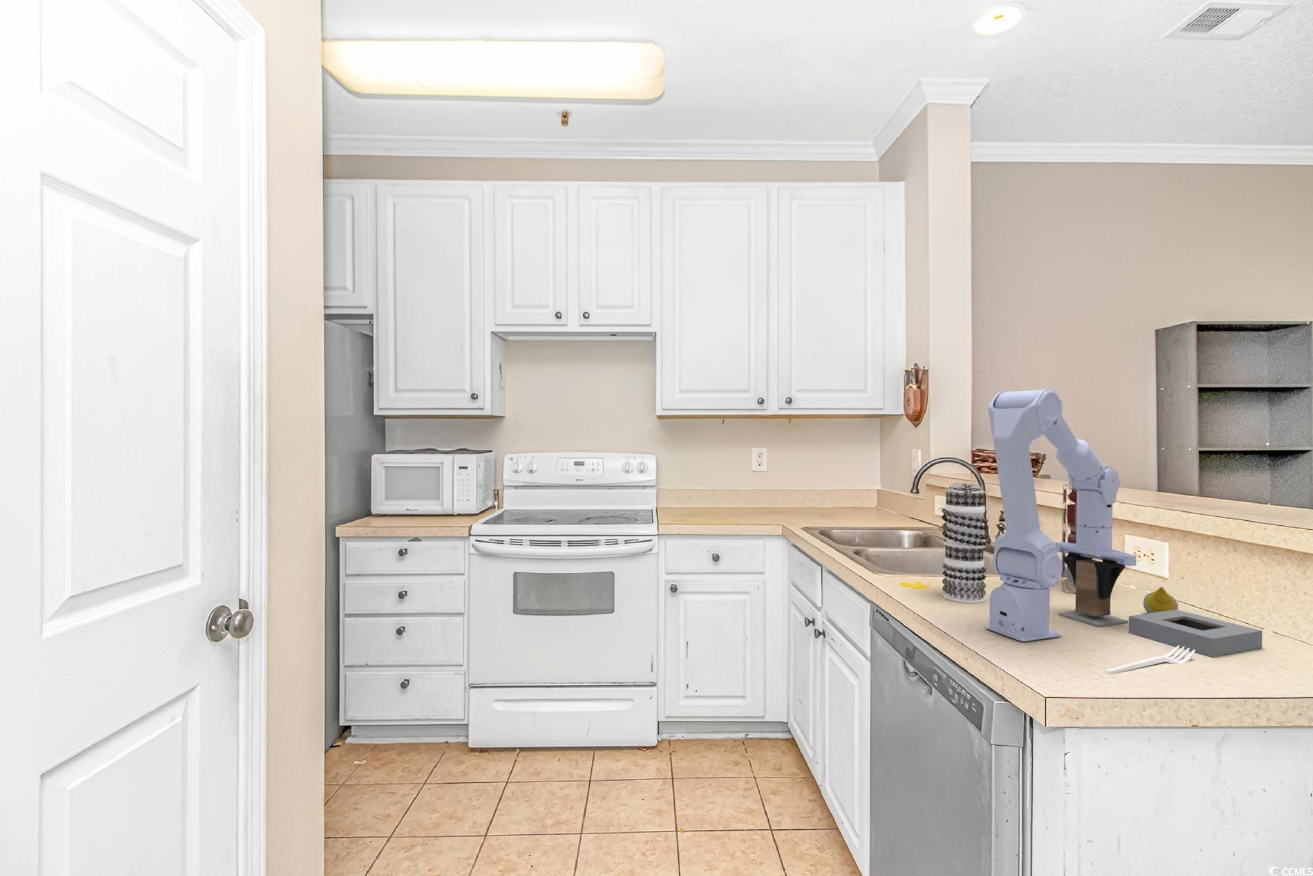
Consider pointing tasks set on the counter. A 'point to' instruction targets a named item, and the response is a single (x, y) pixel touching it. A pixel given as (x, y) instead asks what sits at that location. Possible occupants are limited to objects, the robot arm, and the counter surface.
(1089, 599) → the wooden rectangular post
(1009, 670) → the counter surface
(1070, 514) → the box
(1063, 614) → the flat gray square panel
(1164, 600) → the drill bit
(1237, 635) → the gray square frame
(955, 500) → the decorative candle
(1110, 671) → the fork
